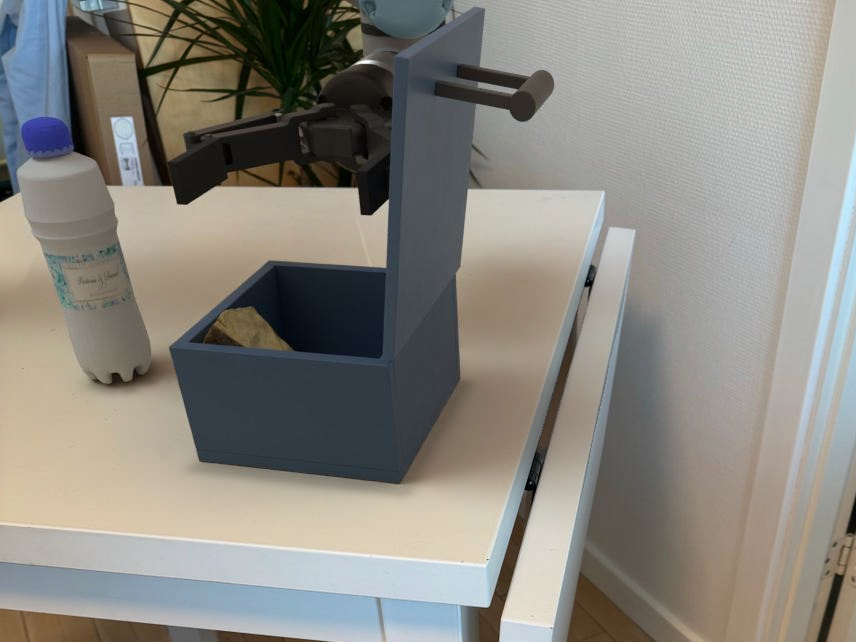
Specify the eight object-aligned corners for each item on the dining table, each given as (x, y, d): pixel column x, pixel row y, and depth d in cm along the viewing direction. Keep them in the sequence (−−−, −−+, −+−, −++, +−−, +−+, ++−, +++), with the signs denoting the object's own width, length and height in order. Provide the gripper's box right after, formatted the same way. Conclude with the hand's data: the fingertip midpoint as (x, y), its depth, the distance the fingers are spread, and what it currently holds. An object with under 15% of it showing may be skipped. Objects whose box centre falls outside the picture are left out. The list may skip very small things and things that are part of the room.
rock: (254, 361, 75) (199, 423, 69) (258, 263, 69) (199, 320, 62) (376, 403, 75) (334, 469, 69) (391, 309, 69) (347, 371, 62)
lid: (394, 55, 47) (521, 79, 46) (473, 6, 59) (576, 24, 59) (382, 358, 59) (484, 381, 58) (450, 265, 71) (535, 283, 70)
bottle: (93, 397, 77) (4, 133, 63) (72, 368, 81) (-16, 115, 67) (170, 375, 79) (100, 118, 66) (145, 349, 83) (75, 102, 70)
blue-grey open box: (198, 461, 68) (168, 346, 62) (287, 363, 80) (268, 259, 74) (400, 484, 65) (388, 366, 59) (460, 378, 77) (455, 272, 71)
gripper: (517, 169, 76) (449, 257, 61) (245, 157, 81) (119, 235, 66) (517, 65, 71) (443, 132, 56) (227, 58, 76) (87, 119, 61)
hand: (268, 188), depth 61 cm, fingers open, 13 cm apart
